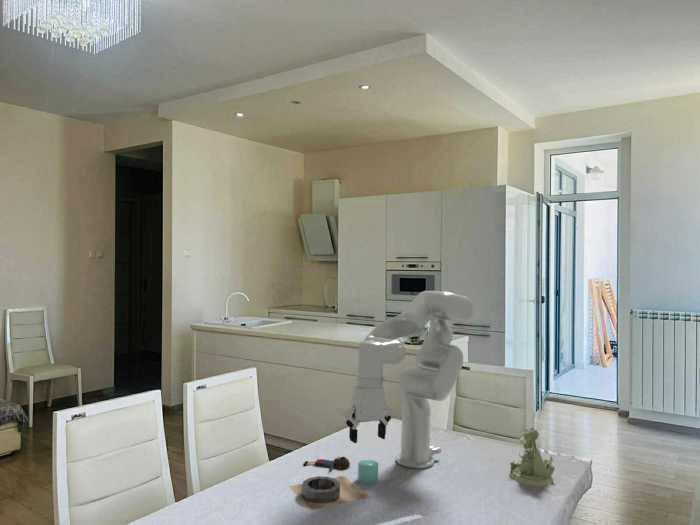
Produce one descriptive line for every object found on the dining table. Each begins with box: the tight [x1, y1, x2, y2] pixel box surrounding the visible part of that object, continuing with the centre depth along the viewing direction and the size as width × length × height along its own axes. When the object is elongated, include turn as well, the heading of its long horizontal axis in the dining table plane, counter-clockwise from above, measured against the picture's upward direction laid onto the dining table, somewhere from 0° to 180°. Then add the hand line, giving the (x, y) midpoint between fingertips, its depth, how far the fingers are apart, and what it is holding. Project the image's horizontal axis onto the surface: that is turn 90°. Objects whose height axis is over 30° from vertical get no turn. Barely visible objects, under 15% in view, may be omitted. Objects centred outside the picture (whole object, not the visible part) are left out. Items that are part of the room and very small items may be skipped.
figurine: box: [509, 427, 556, 487], centre depth 166 cm, size 14×13×15 cm
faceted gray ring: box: [301, 475, 340, 504], centre depth 149 cm, size 10×10×3 cm
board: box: [289, 475, 371, 511], centre depth 151 cm, size 18×16×1 cm
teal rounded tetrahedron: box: [357, 459, 379, 485], centre depth 159 cm, size 6×6×6 cm
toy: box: [302, 456, 351, 475], centre depth 171 cm, size 14×5×15 cm
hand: (367, 439), depth 159 cm, fingers open, 9 cm apart
